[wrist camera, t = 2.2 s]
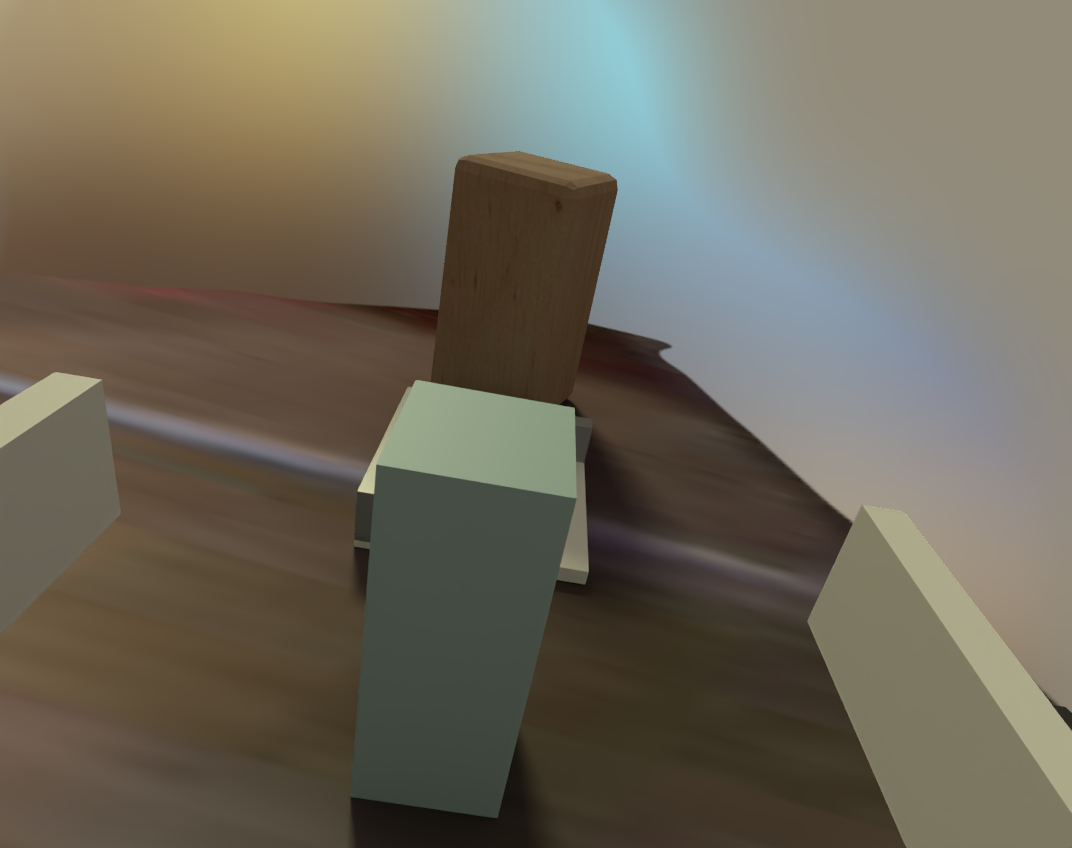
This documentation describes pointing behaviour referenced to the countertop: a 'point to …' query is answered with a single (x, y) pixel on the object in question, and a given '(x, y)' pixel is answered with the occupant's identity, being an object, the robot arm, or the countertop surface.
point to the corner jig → (576, 543)
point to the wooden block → (520, 274)
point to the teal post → (458, 592)
